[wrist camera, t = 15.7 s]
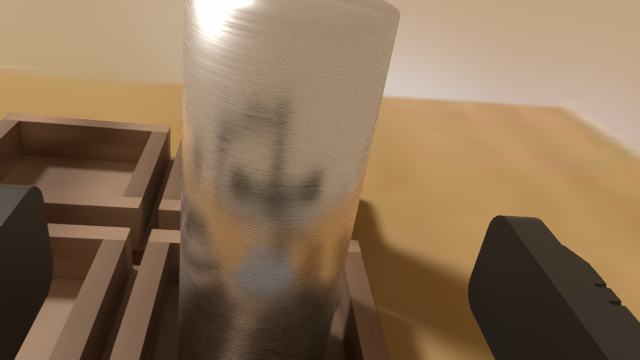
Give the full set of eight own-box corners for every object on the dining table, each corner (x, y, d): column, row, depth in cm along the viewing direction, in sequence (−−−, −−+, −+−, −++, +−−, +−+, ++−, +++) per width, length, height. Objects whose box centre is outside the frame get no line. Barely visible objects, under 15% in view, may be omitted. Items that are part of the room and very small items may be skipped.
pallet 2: (-289, 501, 13) (-349, 425, 11) (-87, 275, 20) (-107, 211, 19) (391, 488, 15) (413, 425, 14) (350, 292, 23) (361, 237, 21)
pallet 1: (-72, 259, 21) (-91, 197, 20) (15, 161, 29) (6, 111, 27) (347, 277, 24) (358, 223, 22) (327, 183, 31) (335, 138, 30)
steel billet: (219, 443, 15) (253, 27, 9) (155, 328, 18) (150, -32, 12) (351, 374, 18) (444, 23, 12) (276, 285, 21) (319, -24, 15)
